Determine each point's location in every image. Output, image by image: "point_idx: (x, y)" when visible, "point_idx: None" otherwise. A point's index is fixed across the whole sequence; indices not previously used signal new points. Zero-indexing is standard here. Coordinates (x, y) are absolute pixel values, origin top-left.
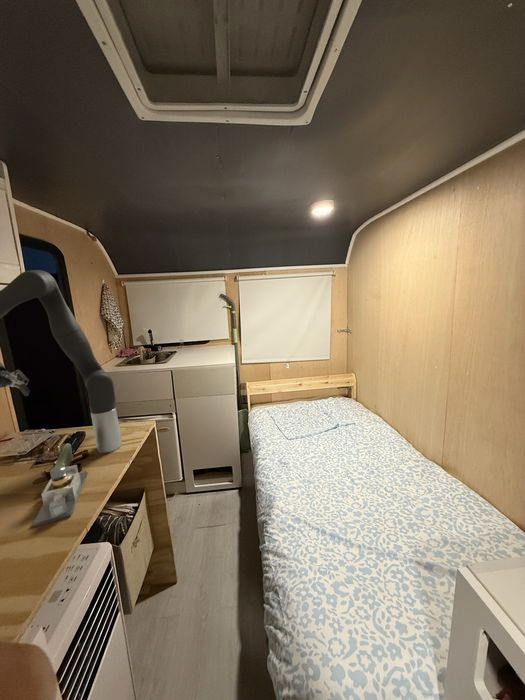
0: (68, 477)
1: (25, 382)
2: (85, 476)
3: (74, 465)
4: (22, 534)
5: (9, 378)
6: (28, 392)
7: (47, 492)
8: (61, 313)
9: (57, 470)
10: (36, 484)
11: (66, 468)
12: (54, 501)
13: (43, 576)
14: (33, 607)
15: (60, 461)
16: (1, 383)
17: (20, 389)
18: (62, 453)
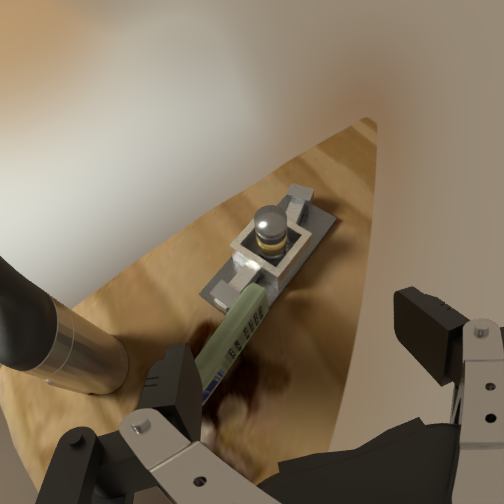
0: (250, 252)
1: (108, 443)
2: (213, 278)
3: (214, 293)
4: (351, 219)
5: (244, 492)
6: (176, 346)
7: (302, 229)
8: None
9: (273, 211)
10: (287, 366)
11: (232, 297)
12: (302, 197)
13: (345, 138)
14: (358, 121)
15: (229, 325)
16: (373, 449)
17: (194, 433)
18: (202, 369)
